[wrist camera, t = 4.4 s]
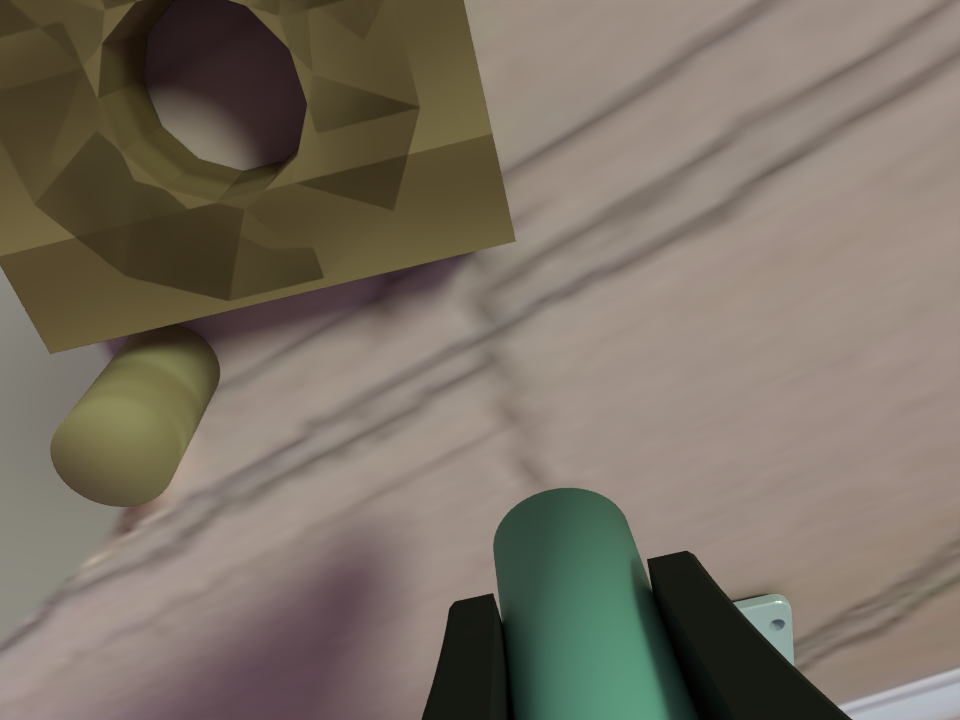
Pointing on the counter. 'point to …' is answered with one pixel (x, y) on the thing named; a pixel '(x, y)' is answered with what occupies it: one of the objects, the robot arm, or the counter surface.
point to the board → (227, 191)
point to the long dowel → (582, 615)
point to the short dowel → (137, 418)
